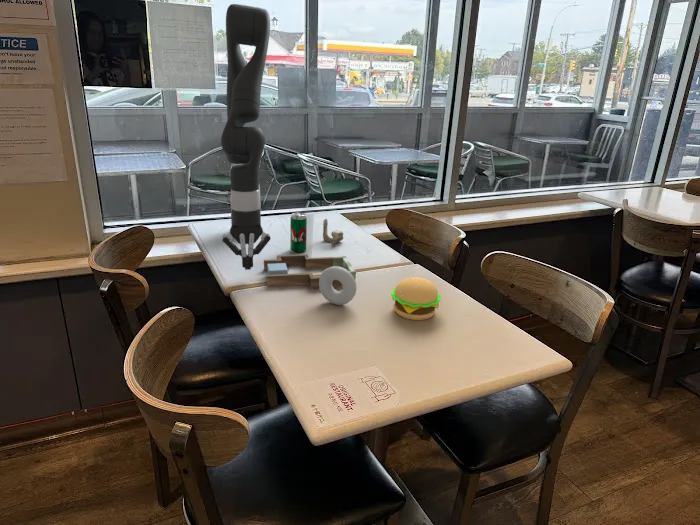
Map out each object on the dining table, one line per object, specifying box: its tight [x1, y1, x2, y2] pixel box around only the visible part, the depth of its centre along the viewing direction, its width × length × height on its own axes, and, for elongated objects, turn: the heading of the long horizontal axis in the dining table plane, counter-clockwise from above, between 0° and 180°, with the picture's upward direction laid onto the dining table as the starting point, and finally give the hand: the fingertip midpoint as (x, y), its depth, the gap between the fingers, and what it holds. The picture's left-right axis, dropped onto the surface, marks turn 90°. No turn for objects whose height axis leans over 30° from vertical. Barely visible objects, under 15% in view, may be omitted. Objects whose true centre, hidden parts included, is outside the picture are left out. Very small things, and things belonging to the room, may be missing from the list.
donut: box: [319, 266, 357, 306], centre depth 122 cm, size 10×4×10 cm, turn 65°
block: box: [267, 263, 289, 275], centre depth 136 cm, size 5×5×4 cm
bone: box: [322, 218, 344, 247], centre depth 164 cm, size 9×6×10 cm
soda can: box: [289, 212, 308, 254], centre depth 155 cm, size 5×5×12 cm
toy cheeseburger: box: [390, 276, 442, 321], centre depth 120 cm, size 12×12×9 cm
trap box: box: [263, 254, 357, 290], centre depth 139 cm, size 18×24×3 cm
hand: (247, 268), depth 134 cm, fingers closed
